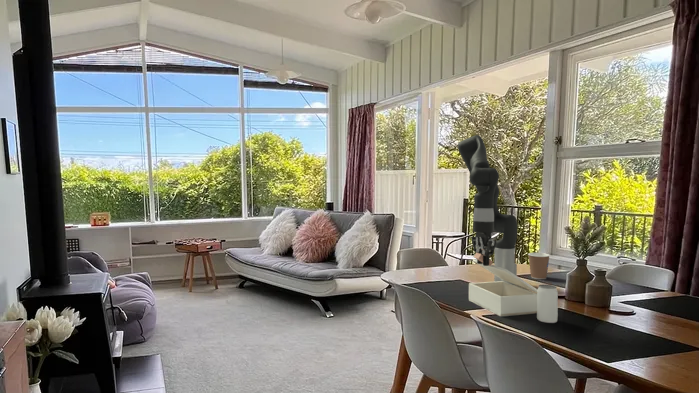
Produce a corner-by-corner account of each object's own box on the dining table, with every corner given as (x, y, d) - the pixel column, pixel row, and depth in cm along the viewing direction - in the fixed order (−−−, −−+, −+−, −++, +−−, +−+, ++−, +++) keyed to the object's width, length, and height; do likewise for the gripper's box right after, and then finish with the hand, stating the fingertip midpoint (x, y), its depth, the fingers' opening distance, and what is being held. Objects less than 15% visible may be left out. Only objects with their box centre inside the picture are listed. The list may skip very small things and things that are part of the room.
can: (556, 318, 148) (556, 284, 148) (558, 324, 142) (559, 289, 141) (536, 316, 150) (536, 283, 150) (537, 322, 144) (538, 287, 144)
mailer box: (502, 297, 176) (502, 281, 175) (538, 313, 154) (538, 294, 154) (468, 300, 172) (468, 283, 172) (500, 316, 150) (500, 297, 150)
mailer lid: (502, 280, 176) (504, 275, 176) (539, 293, 154) (541, 288, 154) (461, 253, 171) (463, 249, 171) (493, 263, 149) (495, 258, 149)
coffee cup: (553, 280, 207) (553, 256, 207) (532, 280, 208) (532, 256, 207) (544, 275, 218) (544, 252, 217) (524, 275, 218) (524, 252, 218)
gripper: (503, 221, 154) (502, 267, 155) (482, 218, 168) (481, 261, 168) (485, 221, 152) (484, 268, 153) (465, 218, 166) (464, 261, 166)
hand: (483, 264), depth 161 cm, fingers closed on mailer lid, 3 cm apart
